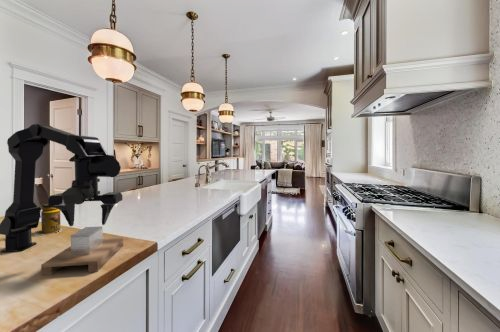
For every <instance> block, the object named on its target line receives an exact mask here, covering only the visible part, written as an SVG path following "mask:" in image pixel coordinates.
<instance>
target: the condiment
mask: <svg viewBox="0 0 500 332" xmlns="http://www.w3.org/2000/svg"><path fill="white" fill-rule="evenodd" d="M53 206H55V205H48V203H44V204H42V205H41V207H42V208H41V211H40V216H41V218H40V219H41V230H34V237H39V236H44V235H53V234H56V233H55V232H57V233H62V232H63V229H62V227H61V210H59V209H57V208H53ZM60 229H61V230H60ZM58 231H59V232H58ZM50 233H51V234H50Z"/></svg>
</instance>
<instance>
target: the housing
mask: <svg viewBox="0 0 500 332" xmlns="http://www.w3.org/2000/svg"><path fill="white" fill-rule="evenodd" d="M103 231H104V230H103V226H85V227H84V228H82V229H81V230H78V231H76V232H74V233H73V234H71V235H70V246H71V255H88V254H91V253H92V252H93V251H95V250H96V249H97V248H98V247H100V246H101V245H102V244H103V239H104V236H103V235H104V234H103Z"/></svg>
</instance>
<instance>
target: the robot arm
mask: <svg viewBox="0 0 500 332" xmlns="http://www.w3.org/2000/svg"><path fill="white" fill-rule="evenodd" d="M50 141H51V142H54V143H56V144H59V145H62V146H64V147H65V149H66V150H67V151H69V152H70V153H72V154H74V155H73V156H71V158H70V159H69V160H68V162H71V163H72V162H73V163H74V179H73V180H72V181H71V187H69V188H67V189H66V190H65V191H63V192H60V193H56V194H52V195H49V197H48V198H47V204H48V205H55V206H53V208H57V209H59V210H60V213H62V214H63V216H64V218H65V220H66V222H67V224H68V226H69V227H73V226H74V225H75V223H74V222H75V213H76V212H75V211H76V210H75V209H76V208H75V207H76V205H82V204H84V203H85V202H101V203H102V204H100V208H101V224H102V226H104V225H105V224H106V223H107V221H108V218H109V217H110V213H111V211H112V209H113V208H114V206H115V205H116V204H119V202H121V201H123V194H122V193H121V191H116V192H115V191H112V192H111V191H110V192H106V193H103V194H101V191H100V190H99V185H98V184H99V182H101V181H100V180H101V178H115V177H117V176H119V174H120V172H121V164H120V162H119V161H118V160H117V159H116V156H115V154H108V153H107V151H106V150H105V148H104V147H103V145H102V143H101V142H100V141H101V140H100V139H99V138H98V137H96V136H86V135H78V134H74V133H71V132H69V131H65V130H63V129H59V128H57V127H54V126H51V125H48V124H41V123H35V124H31V125H30V126H29V127H26V128H24V129H21V130H18V131H16V132H14V133H13V134H12V135H10V136H9V137H8V139H7V141H6V144H7V146H8V147H7V148H8V154H10V156H11V157H12V158H13V160H14V176H13V177H14V178H13V179H14V181H13V198H12V203H11V204H10V205H9V206H8V207H7V209H6V210H5V212H4V213H5V214H4V217H3V219H2V221H0V235H3V236H5V239H4V246H5V247H4V248H3V249H1V250H0V253H4V252H5V253H7V252H22V251H25V250H26V249H29V248H31V247H33V246H36V245H37V242H36V241H35V242H32V240H33V239H32V237H33V236H32V229H36V228H38V227H39V222H40V219H41V212H42V208H41V206H38V205H37V204H36V203H35V202H34V200H35V198H34V197H35V185H36V184H35V182H36V180H35V179H36V178H35V177H36V165H37V164H36V163H37V161H38V160H39V158H41V156H42V155H43V153H44V148H46V146H48V145H49V144H50V143H51V142H50Z"/></svg>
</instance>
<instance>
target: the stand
mask: <svg viewBox="0 0 500 332" xmlns="http://www.w3.org/2000/svg"><path fill="white" fill-rule="evenodd" d="M123 247H124V237H116V238H115V237H112V238H110V237H109V238H103V244H102V245H101V246H100V247H98V248H97V249H96V250H95V251H93V252H92V253H91V254H88V255H71V245H70V246H69V247H66V248H65V249H64V250H63V251H61V252H59V253H57V254H56V255H55V256H52V257H51V258H49V259H48V260H46V261H45V262H43V263H42V264H41V265H40V267H41V269H40V271H41V272H40V273H41V276H52V275H53V274H54V273H56V272H58V271H59V270H60V269H61V268H62V267H69V266H70V267H71V266H87V265H88V267H87V268H88V273H92V272H93V273H94V272H99V271H100V270H101V269H102V268H103V267H104V266H105V265H106V264H107V263H108V262H109V261H110V260H111V259H112V258H113V257H114V256H115V255H116V254H117V253H118V252H119V251H120V250H121V249H122V248H123Z"/></svg>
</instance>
